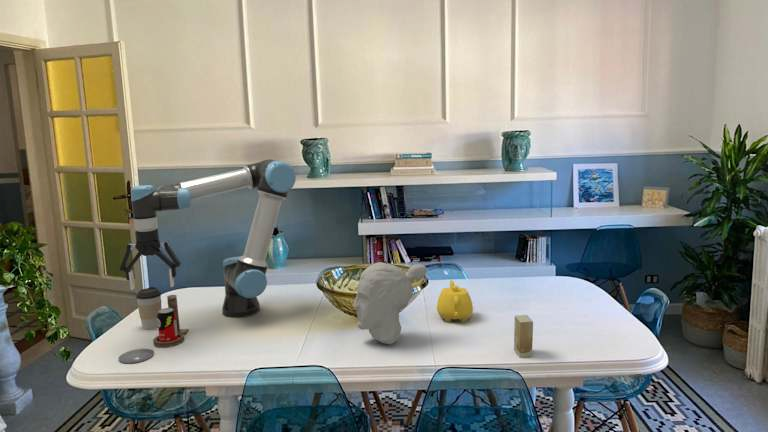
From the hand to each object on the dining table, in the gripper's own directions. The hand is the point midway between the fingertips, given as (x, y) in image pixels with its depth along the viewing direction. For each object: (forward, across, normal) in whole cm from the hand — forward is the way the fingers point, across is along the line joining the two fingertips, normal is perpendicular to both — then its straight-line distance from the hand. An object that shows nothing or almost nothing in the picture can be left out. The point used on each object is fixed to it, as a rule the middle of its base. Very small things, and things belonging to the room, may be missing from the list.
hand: (152, 287), depth 201 cm
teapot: (+20, -111, +2) cm, 113 cm away
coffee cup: (+20, +6, -15) cm, 26 cm away
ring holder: (+20, -5, +1) cm, 20 cm away
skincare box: (+20, -123, +40) cm, 131 cm away
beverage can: (+20, -4, +3) cm, 21 cm away
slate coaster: (+20, +4, +14) cm, 25 cm away
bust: (+20, -83, +19) cm, 88 cm away
